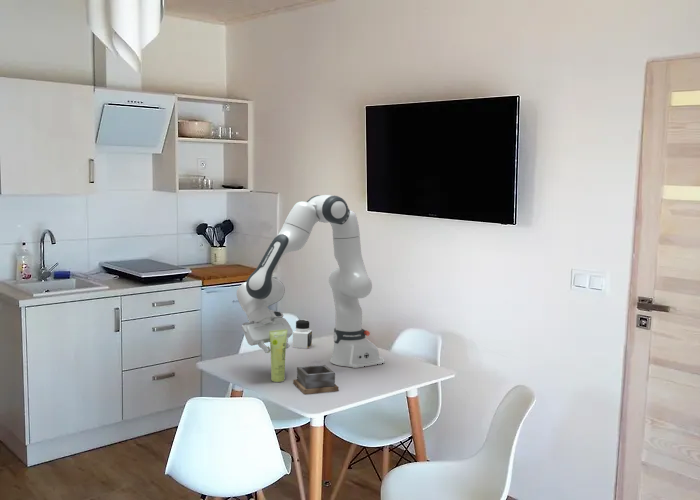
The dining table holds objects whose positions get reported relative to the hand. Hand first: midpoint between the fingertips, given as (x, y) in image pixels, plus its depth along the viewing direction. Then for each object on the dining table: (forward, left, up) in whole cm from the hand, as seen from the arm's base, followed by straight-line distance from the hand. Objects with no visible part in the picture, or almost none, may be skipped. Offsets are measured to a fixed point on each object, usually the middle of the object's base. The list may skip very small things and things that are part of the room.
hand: (278, 349), depth 255 cm
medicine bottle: (-25, -46, -12) cm, 54 cm away
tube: (0, 0, -12) cm, 12 cm away
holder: (-11, +12, -12) cm, 20 cm away
